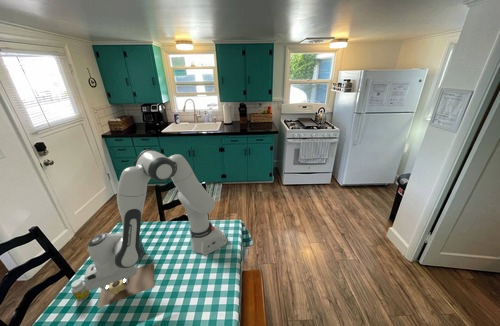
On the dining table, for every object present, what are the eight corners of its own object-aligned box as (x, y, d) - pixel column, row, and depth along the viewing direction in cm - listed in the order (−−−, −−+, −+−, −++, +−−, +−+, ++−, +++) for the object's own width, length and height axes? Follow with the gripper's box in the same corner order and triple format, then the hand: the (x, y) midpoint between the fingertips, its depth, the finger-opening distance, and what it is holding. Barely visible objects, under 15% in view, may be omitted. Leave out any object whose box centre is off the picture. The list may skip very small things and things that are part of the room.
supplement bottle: (92, 292, 100) (86, 278, 97) (82, 303, 95) (75, 289, 92) (84, 290, 101) (77, 276, 98) (73, 300, 97) (66, 287, 93)
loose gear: (125, 279, 102) (124, 275, 101) (124, 291, 96) (122, 286, 95) (110, 285, 99) (109, 280, 98) (108, 297, 94) (106, 292, 93)
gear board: (154, 264, 115) (152, 255, 112) (155, 288, 101) (152, 279, 99) (104, 281, 106) (100, 272, 103) (98, 310, 92) (93, 301, 90)
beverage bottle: (140, 260, 117) (132, 233, 110) (130, 258, 119) (121, 231, 111) (148, 251, 123) (140, 225, 115) (138, 250, 125) (130, 224, 117)
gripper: (134, 252, 99) (141, 272, 104) (83, 268, 91) (93, 289, 96) (133, 262, 93) (140, 283, 99) (79, 280, 86) (90, 301, 91)
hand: (116, 286), depth 98 cm, fingers closed on loose gear, 6 cm apart
